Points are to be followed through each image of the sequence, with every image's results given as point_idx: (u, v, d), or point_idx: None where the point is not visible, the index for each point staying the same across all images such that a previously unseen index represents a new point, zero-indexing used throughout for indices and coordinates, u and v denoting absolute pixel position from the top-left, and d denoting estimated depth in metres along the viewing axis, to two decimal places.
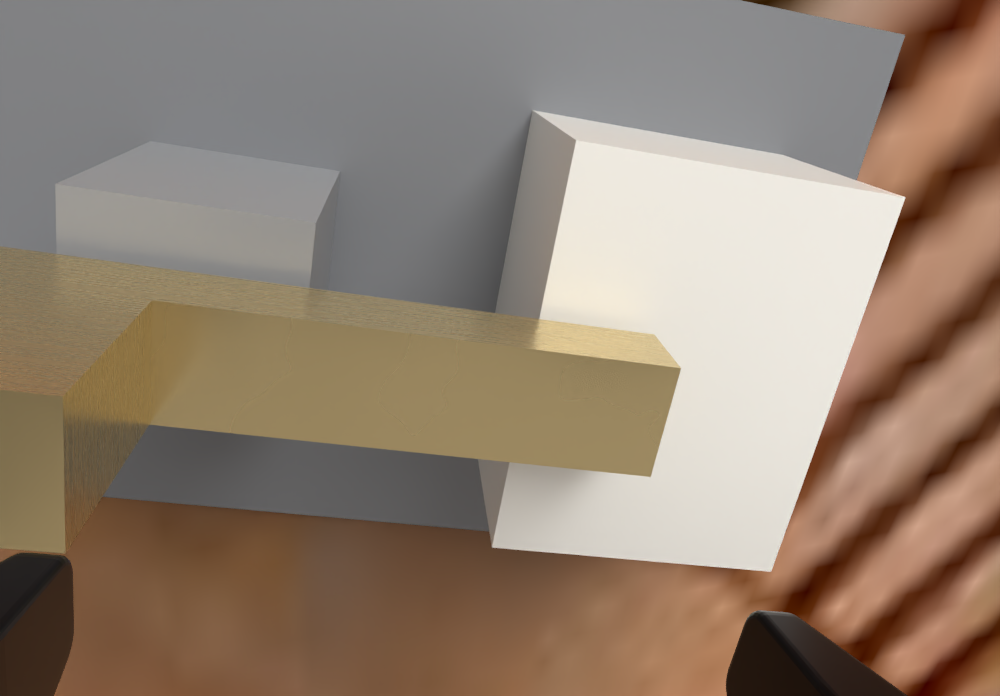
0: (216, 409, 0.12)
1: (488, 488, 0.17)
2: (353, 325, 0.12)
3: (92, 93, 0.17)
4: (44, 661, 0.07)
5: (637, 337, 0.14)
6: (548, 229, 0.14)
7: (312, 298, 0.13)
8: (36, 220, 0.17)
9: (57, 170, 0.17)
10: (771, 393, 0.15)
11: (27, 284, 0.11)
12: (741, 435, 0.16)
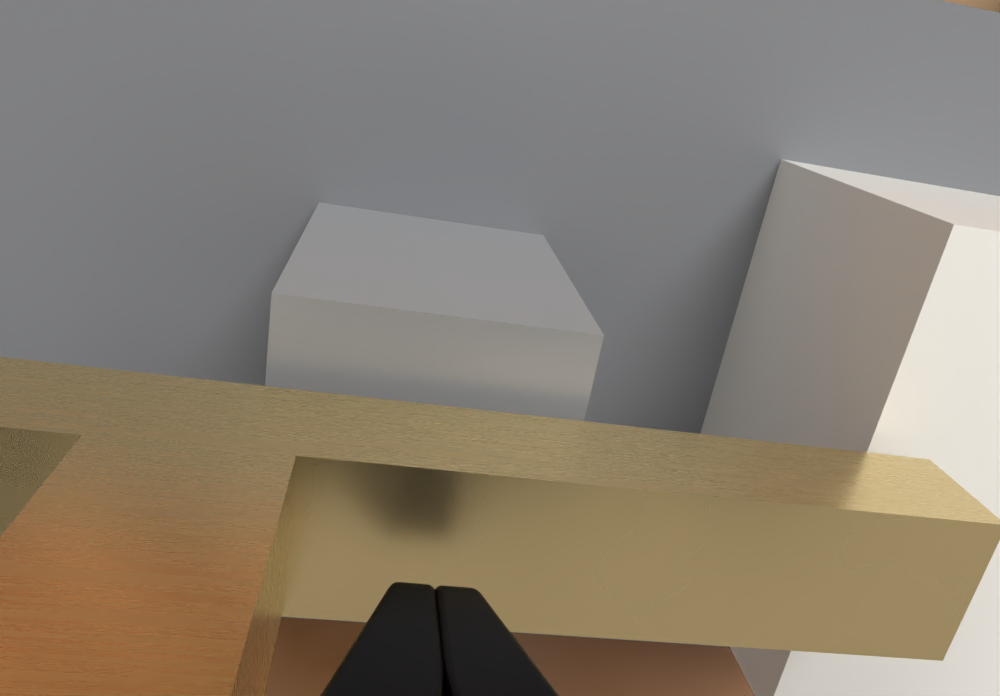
0: (375, 594, 0.09)
1: None
2: (572, 482, 0.08)
3: (252, 145, 0.13)
4: None
5: (914, 467, 0.10)
6: (874, 330, 0.11)
7: (497, 431, 0.09)
8: (175, 298, 0.14)
9: (204, 239, 0.14)
10: None
11: (120, 438, 0.08)
12: None
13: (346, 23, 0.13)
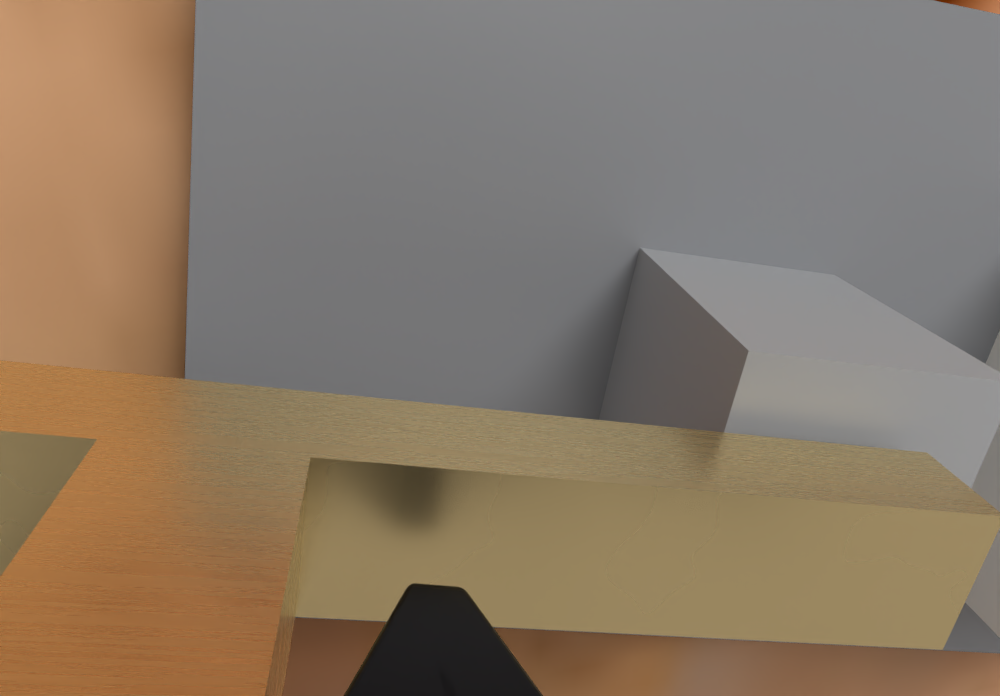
0: (388, 594, 0.09)
1: None
2: (583, 479, 0.09)
3: (588, 197, 0.14)
4: None
5: (913, 460, 0.10)
6: None
7: (506, 429, 0.09)
8: (498, 336, 0.15)
9: (532, 282, 0.15)
10: None
11: (135, 442, 0.08)
12: None
13: (688, 85, 0.14)
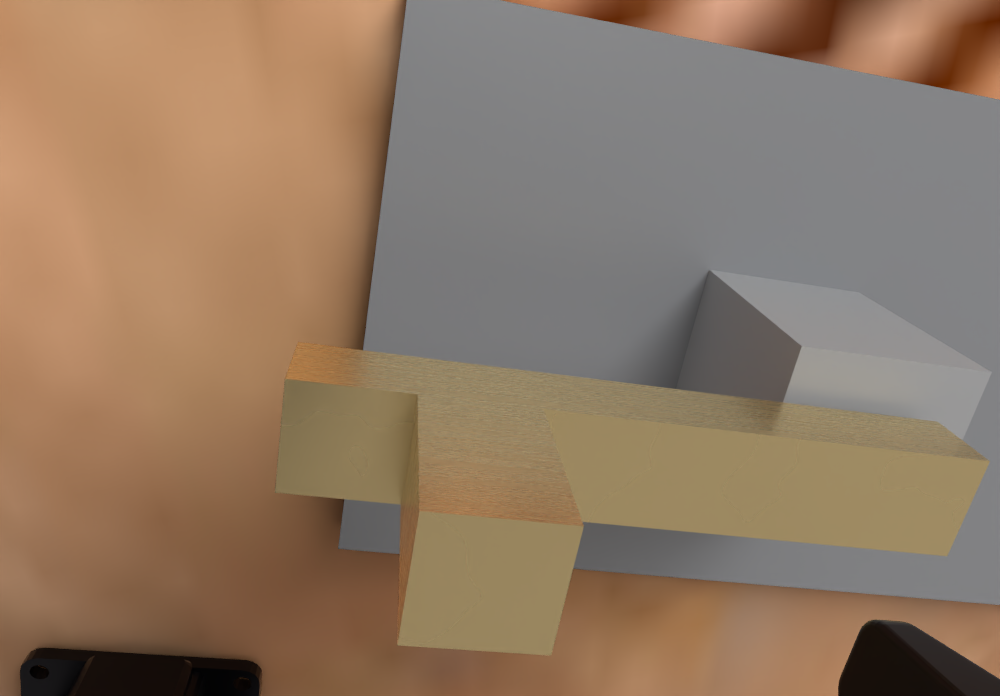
0: (580, 501, 0.13)
1: None
2: (712, 428, 0.13)
3: (672, 231, 0.19)
4: None
5: (928, 426, 0.15)
6: None
7: (654, 397, 0.14)
8: (598, 336, 0.20)
9: (626, 295, 0.19)
10: None
11: (440, 397, 0.12)
12: None
13: (750, 149, 0.18)
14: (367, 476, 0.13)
